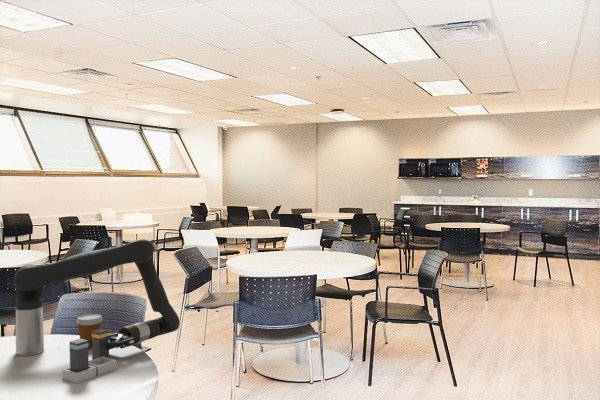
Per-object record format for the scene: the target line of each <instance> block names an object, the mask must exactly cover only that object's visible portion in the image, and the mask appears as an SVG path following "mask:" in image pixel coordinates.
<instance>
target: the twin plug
mask: <svg viewBox="0 0 600 400" xmlns="http://www.w3.org/2000/svg"><path fill="white" fill-rule="evenodd" d="M68 346H69V367H70V371H73V372H76V373H78V372H81V371H83V370H86V369H89V361H90V360H89V350H88V340H84V339H80V338H77V339H75V340H72V341H71V340H70V341H69V345H68Z"/></svg>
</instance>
